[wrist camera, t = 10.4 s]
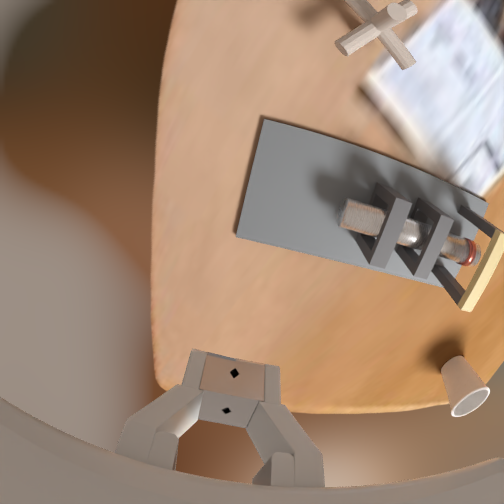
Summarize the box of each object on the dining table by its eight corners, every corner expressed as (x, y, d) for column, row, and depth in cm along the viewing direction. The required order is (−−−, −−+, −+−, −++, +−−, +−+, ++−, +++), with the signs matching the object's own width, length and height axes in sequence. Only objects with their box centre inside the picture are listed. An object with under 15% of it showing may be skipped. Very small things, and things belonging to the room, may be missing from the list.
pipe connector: (418, 51, 25) (465, 39, 16) (359, 92, 28) (394, 87, 19) (363, -15, 22) (394, -49, 13) (299, 23, 25) (311, -8, 16)
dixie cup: (427, 380, 48) (443, 419, 39) (449, 350, 44) (470, 389, 35) (455, 379, 48) (472, 414, 40) (476, 350, 45) (497, 386, 36)
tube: (344, 192, 32) (352, 201, 28) (471, 237, 33) (485, 249, 30) (334, 221, 33) (340, 233, 30) (461, 260, 34) (473, 272, 31)
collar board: (264, 118, 30) (262, 122, 22) (486, 202, 32) (528, 229, 24) (236, 234, 37) (226, 276, 28) (447, 286, 38) (477, 326, 30)
